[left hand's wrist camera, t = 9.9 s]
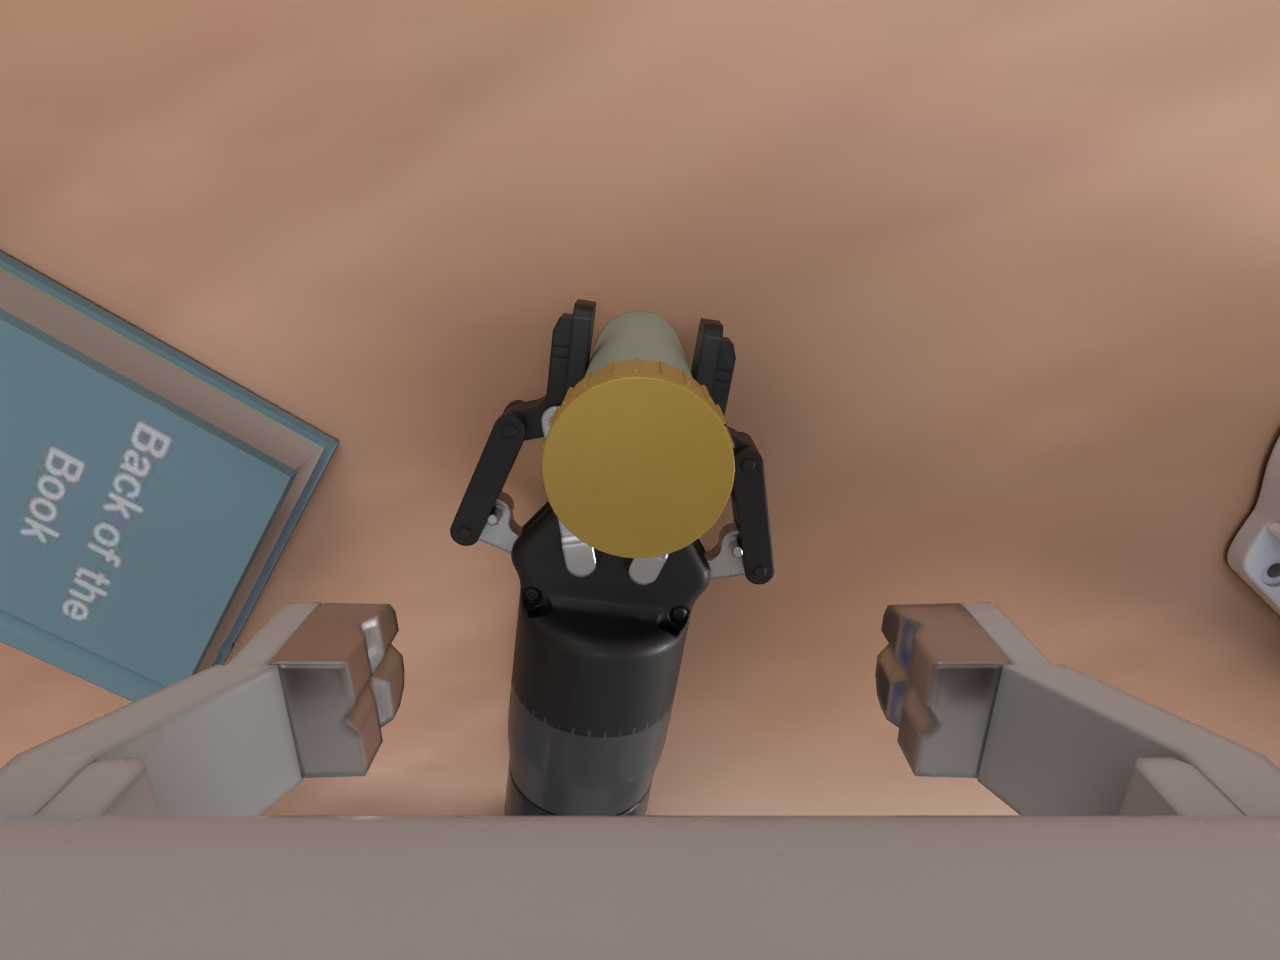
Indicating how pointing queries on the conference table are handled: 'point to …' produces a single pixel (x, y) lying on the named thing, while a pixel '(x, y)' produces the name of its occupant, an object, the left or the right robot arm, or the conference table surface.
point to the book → (133, 493)
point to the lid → (638, 459)
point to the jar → (638, 342)
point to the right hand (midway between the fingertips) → (648, 314)
